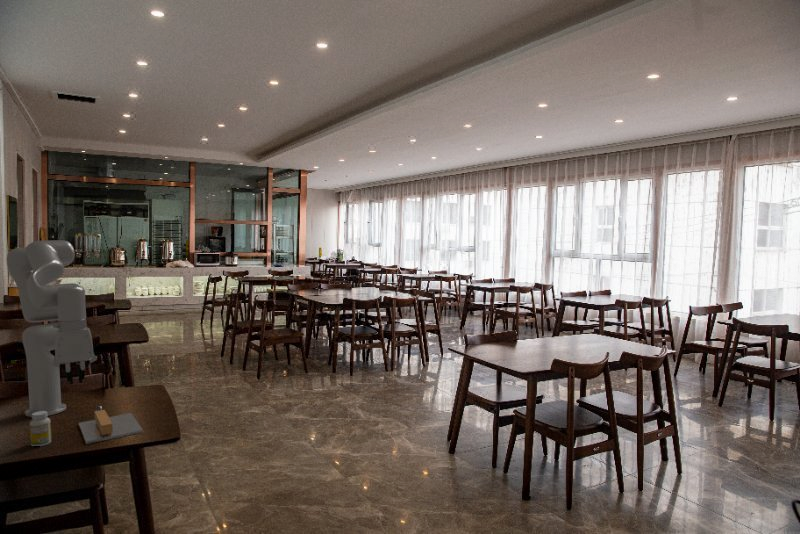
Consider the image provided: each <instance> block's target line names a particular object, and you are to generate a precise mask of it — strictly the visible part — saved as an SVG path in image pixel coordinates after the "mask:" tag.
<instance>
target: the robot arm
mask: <svg viewBox="0 0 800 534" xmlns="http://www.w3.org/2000/svg"><path fill="white" fill-rule="evenodd" d="M75 257H76V252H75V249H74V246H73V245H72V243H71V242H69V241H67V240H62V239H58V240H55V239H53V240H49V239H48V240H35V241H32V242H30V243H29V244H27V246H25V247H16V248H13V249H11V250H10V251H8V253H7V254H6V265H7V269H8V272H9V275H10V276H11V278H12V281H14V283H15V285H16V287H17V290H18V296H19V300H20V307H21V311H22V312H21V313H22V315H23V318H24V320H25V321H26V322H28V323H43V322H44V323H43V324H36V325H32V326H31V325H30V326H29V327H27V328H26V329H25V330H24V331H23V332H22V335H21V338H22V339H21V340H22V344H23V348H24V353H25V357H26V358H25V360H26V367H27V370H26V371H27V383H28V384H27V385H28V397H29V398H28V399H29V400H28V401H29V402H28V403H29V408H27V409H26V410H25V411H24V416H26V417H28V418H29V417H30V418H32V414H33V413H35V412H39V411H47V413H48V416H54V415H57V414H59V413H63V412H64V411H65V410H66V409H67V404H65V403H63V402H62V394H61V377H60V376H61V375H60V373H61V372H60V369H62V370H63V371H65V373H66V381H67V383H68V382H69V385H73V384H74V379H73V371H72V369H71V363H78V362H79V367H78V369H77V375H78V382H79V383H80V384H82V383H83V381H84V380H85V369H86V368H87V367H88V366H89V365H90V364H91V363H94V362H96V361H97V360H98V358H97V356H96V355H95V353H94V346H93V337H92V333H91V332H92V331H91V329H90V328H89V327H88V324H87V311H86V309H87V308H86V305H87V304H86V291H85V288H84V287H83V286H82V285H80V284H78V283H71V282H70V283H56V284H55V283H54V282H56V281H57V280H59V279H60V278H61V277H62V276H63V275H64V273H65V267H67V266H69V265H71V264H72V263H73V261H74V260H75ZM51 283H54V284H51ZM54 321H57V322H54ZM45 322H48V323H45ZM49 322H50V323H49ZM51 322H52V323H51ZM51 351H54V354H52V353H51ZM48 416H47V417H48Z"/></svg>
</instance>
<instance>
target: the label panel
mask: <svg viewBox="0 0 800 534" xmlns="http://www.w3.org/2000/svg"><path fill="white" fill-rule="evenodd" d="M102 406H103V405H96V406H95V411H100V410H103V407H102ZM108 417H109V418H110V420H111V422H112V427H113V433H110V434H105V435H102V434H101V432H100V430H99V428H98V426H97V424H96V421H95V419H93V420H86V421H81V422H78V426H79V429H80V432H81V435H82V437H83V440H84V443H85V445H89V444H90V445H91V444H93V443H94V444H95V443H98V442H99V443H100V442H102V441H103V442H105V441H107V440H112V439H118V438H123V437H128V436H132V435H136V434H142V433H144V430H143V428H142V426H141V425H140V423H139V422H138V420H137V418H135V416H134V415H133V414H132V413H131V412H129V413H124V414H119V415H114V416H108Z"/></svg>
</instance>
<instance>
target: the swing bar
mask: <svg viewBox="0 0 800 534" xmlns="http://www.w3.org/2000/svg"><path fill="white" fill-rule="evenodd" d="M109 417H110V416H109V415H108V413H107V411H106V410H105V409H102V410H100V411H96V410H95V411H94V420H95V421H96V424H97V426H98V428H99V430H100V432H101V434H102V435H105V434H110V433H113V427H112V422H111V420H110V418H109Z"/></svg>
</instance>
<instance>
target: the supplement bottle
mask: <svg viewBox="0 0 800 534" xmlns="http://www.w3.org/2000/svg"><path fill="white" fill-rule="evenodd" d="M31 419H32V420H31V421H30V422H29V435H30V439H29V440H30V445H31V447H33V446H40V447H44V446H48V445H49V444H51V443H52V425H51V418H49V417H48V413H47V411H39V412H35V413H33V414H32V417H31Z"/></svg>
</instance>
